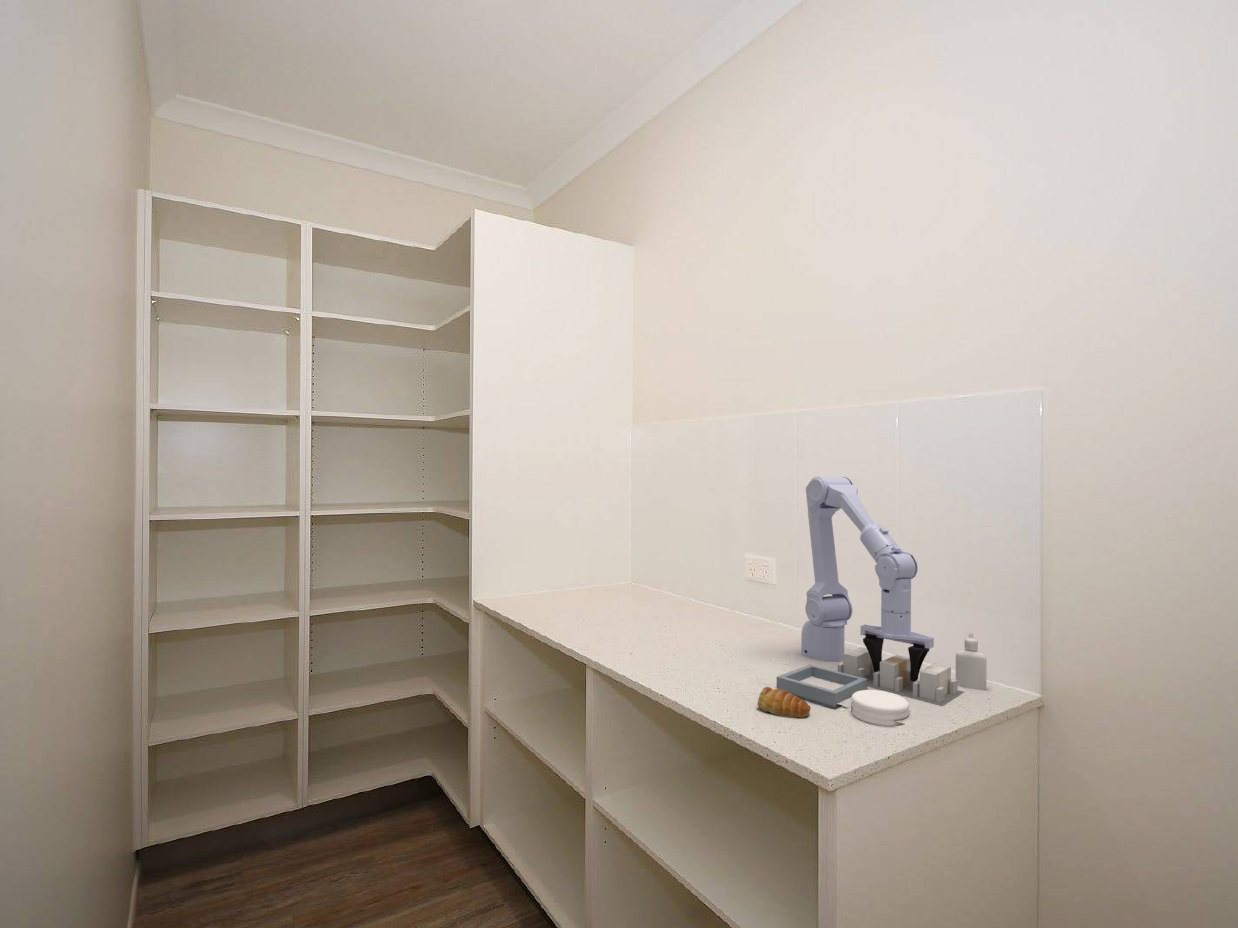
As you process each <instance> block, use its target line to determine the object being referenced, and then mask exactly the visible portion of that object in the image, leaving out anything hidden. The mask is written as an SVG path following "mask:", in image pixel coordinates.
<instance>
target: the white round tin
mask: <svg viewBox="0 0 1238 928" xmlns="http://www.w3.org/2000/svg"><path fill="white" fill-rule="evenodd" d="M850 699H851V704H850V705H851V709H850V711H851V714H852V715H853V717H855V718H856V719H858V720H860V721H862V722H865V723H868V724H872V725H875V726H884V727H899V726H904V725H905V723H903V722H899V721H900V720H904V719H906V718H907V717H909V716H910V706H911V705H910V703H909V702H908V700H907V699H906V698H904V696H901V695H897V694H893V693H890V692H886V691H882V690H878V689H866V690H861V691H857V692H855V693H854V694H853V695H852V697H850Z"/></svg>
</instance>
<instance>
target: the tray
mask: <svg viewBox="0 0 1238 928" xmlns="http://www.w3.org/2000/svg"><path fill="white" fill-rule="evenodd" d="M811 677H814V678H817V679H821V680H824V681H827V682H832V683H836V684H839V685H842V686H839V687H838V688H835V689H830V688H825V687H822V686H818V685H815V684H813V683H807V682H804V681H803V680H806V679H808V678H811ZM776 689H780V690H782V691H783V690H786V691H788V692H789V693H790V694H793V695H796V696H797V697H799V698H801V699H802V700H803V701H805V702H806V701H807V702H811V703H813V704H816V705H820V706H824V707H826V708H830V709H832V710H837V709H840V708H841V707H843V705H842V704H840V703H841V702H844V701H846V700H848V699H851V697H852V695H853V694H854V693H855V692H857V691H861V690H868V687H867V679H865V678H861V677H858V676H854V675H850V674H846V673H842V672H838V671H836V670H833V669H829V668H825V667H822V666H817V665H814V664H807V665H805V666H802V667H799V668H796V669H794V670H791V671H789V672H786V673H783V674H780V675H778V676H776Z"/></svg>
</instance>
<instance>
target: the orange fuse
mask: <svg viewBox="0 0 1238 928" xmlns="http://www.w3.org/2000/svg"><path fill="white" fill-rule="evenodd" d="M909 671H910V657H909V656H904V655H898V654H895V655H892V656H890V657H889V658H885V659H884V660H883V659H882V661H881V662H880V687H884V688H888V689H892V690H895V678H897V677H903V685H905V684H907V683H909Z"/></svg>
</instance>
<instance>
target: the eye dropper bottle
mask: <svg viewBox="0 0 1238 928" xmlns="http://www.w3.org/2000/svg"><path fill="white" fill-rule="evenodd" d="M978 644H979V641H978V639H977V638H975V635H974V633H973V632H969V633H968V637H966V638H964V649H959V650H957V652H956V653H955V679H956V680H958V682H957V687H962V688H967V689H971V690H972V689H973V690H980V691H986V690H987V673H988V672H987V663H988V662H987V655H985V654H984V653H983V652H980V650H979V651H978V649H979V645H978Z"/></svg>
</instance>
